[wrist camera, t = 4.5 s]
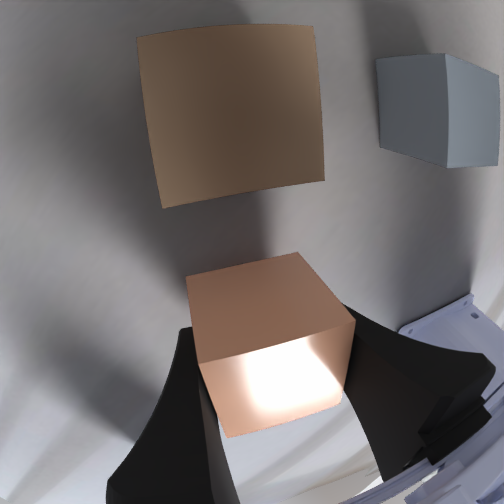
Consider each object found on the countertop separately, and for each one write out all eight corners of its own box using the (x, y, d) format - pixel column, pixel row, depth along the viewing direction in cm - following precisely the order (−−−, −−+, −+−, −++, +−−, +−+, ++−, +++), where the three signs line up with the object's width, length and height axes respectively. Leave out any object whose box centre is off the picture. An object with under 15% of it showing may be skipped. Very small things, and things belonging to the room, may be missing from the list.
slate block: (434, 71, 12) (498, 75, 8) (435, 146, 14) (497, 165, 10) (374, 59, 11) (444, 53, 7) (379, 147, 13) (446, 168, 9)
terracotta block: (297, 251, 12) (355, 320, 8) (299, 333, 14) (339, 404, 10) (185, 276, 11) (198, 364, 7) (208, 356, 13) (226, 438, 9)
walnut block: (263, 52, 10) (312, 26, 6) (273, 156, 12) (324, 180, 8) (149, 66, 9) (136, 37, 5) (165, 174, 11) (162, 208, 7)
